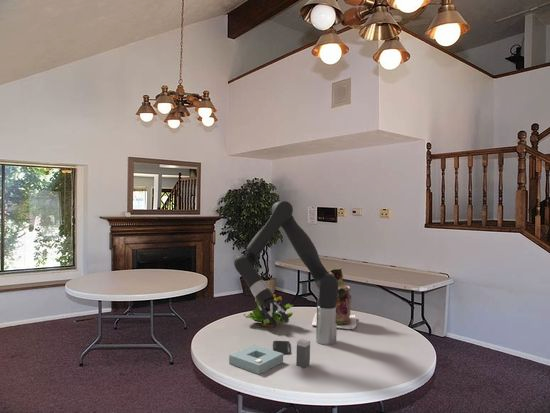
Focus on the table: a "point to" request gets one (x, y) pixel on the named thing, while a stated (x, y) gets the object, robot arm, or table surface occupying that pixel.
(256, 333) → the table surface
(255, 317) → the green flowering plant
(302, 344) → the plug
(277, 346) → the phone
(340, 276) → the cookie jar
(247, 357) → the socket
